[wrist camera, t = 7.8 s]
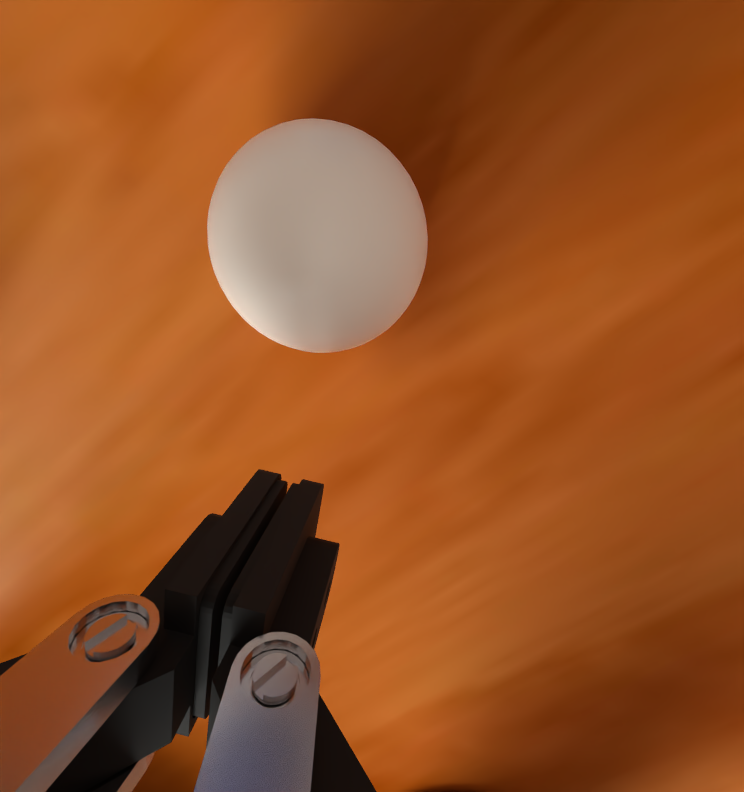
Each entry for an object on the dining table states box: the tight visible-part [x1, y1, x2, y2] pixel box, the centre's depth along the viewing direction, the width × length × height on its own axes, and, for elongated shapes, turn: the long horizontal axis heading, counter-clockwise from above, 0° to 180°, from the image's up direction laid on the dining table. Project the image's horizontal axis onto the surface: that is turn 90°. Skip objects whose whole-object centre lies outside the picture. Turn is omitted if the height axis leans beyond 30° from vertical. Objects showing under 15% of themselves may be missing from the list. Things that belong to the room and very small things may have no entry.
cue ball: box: [207, 118, 428, 353], centre depth 10 cm, size 6×6×6 cm
